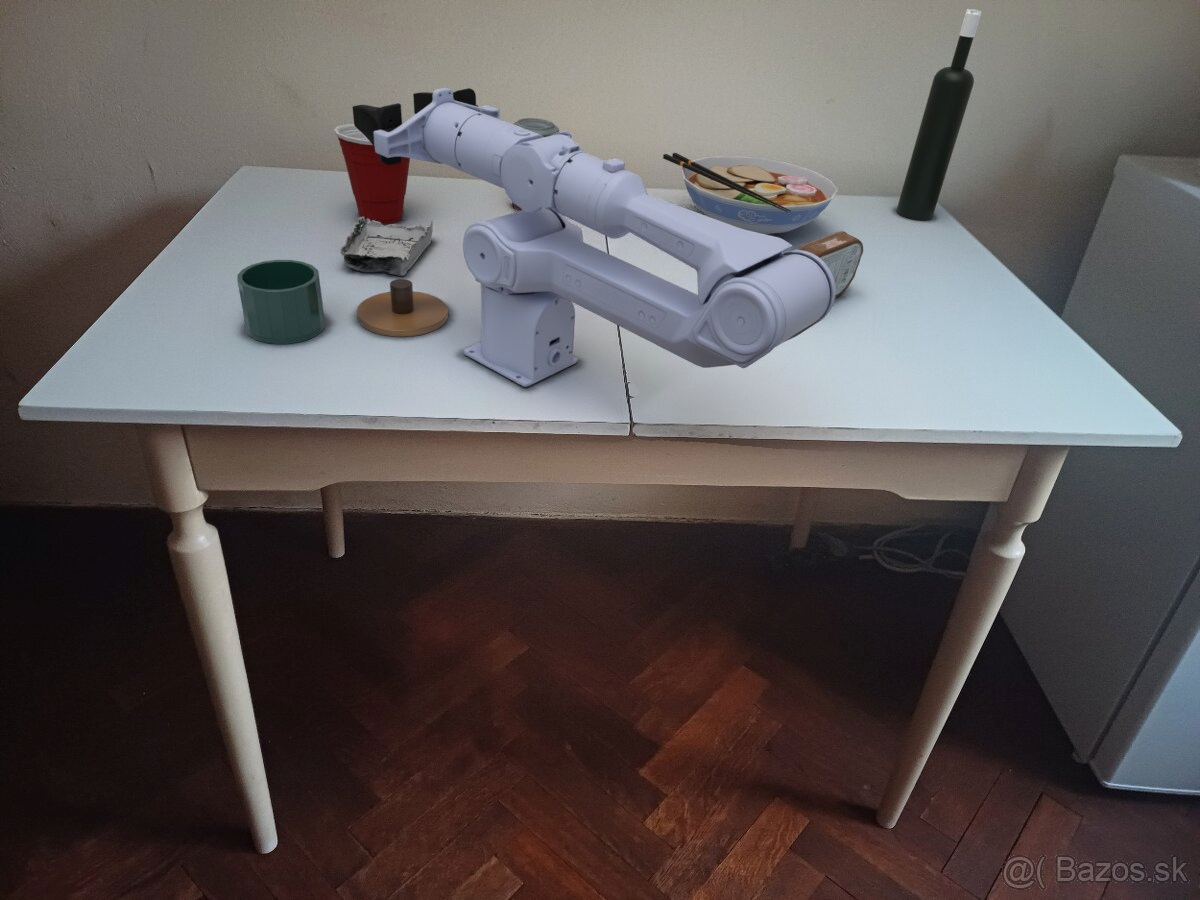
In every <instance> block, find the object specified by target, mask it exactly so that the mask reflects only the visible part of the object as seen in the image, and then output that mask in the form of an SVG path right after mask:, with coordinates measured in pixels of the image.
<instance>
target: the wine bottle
mask: <svg viewBox="0 0 1200 900" xmlns="http://www.w3.org/2000/svg"><path fill="white" fill-rule="evenodd" d="M982 12H983V11H982V10H978V9H975V8H974V9H973V8H971V9H970V8H966V11H965V14H964V17H963V21H962V23H961V26H960V27H961V28H960V31H959V33H958V36H959V37H958V40H957V44H956V47H955V50H954V53H953V56H952V57H953V58H952V61H951V64H950V66H946V67H945V66H944V67H943V68H941V69H939V70H938V71H937V72H936V73H935V75H934V76H933V79H932V83H931V87H930V89H929V94H928V97H927V100H926V104H925V107H924V111H923V115H922V118H921V121H920V125H919V129H918V133H917V135H916V139H915V143H914V146H913V150H912V154H911V156H910V161H909V164H908V167H907V172H906V174H905V179H904V182H903V185H902V190H901V193H900V196H899V200H898V204H897V207H896V210H895V211H896V213H897V215H900V217H904V218H905V219H906V218H907V219H910V220H915V221H929V220H931V219H932V218H933V217H934V214H935V210H936V207H937V204H938V201H939V197H940V195H941V191H942V188H943V185H944V182H945V178H946V175H947V171H948V168H949V166H950V162H951V159H952V156H953V153H954V149H955V146H956V144H957V143H956V142H957V139H958V136H959V132H960V130H961V126H962V123H963V120H964V116H965V113H966V110H967V107H968V104H969V101H970V97H971V94H972V90H973V88H974V84H975V77H974V75H973V73H972V72H971V71H970V70H968V69H966V65H967V64H966V63H967V62H968V59H969V55H970V51H971V48H972V44H973V41H974V38H975V37H976V35H977V31H978V26H979V23H980V20H981V16H982Z"/></svg>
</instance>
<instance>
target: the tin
mask: <svg viewBox="0 0 1200 900" xmlns="http://www.w3.org/2000/svg"><path fill="white" fill-rule="evenodd" d="M797 250H803V251H807V252H810V253H813V254H814V255H816V256H818V257H819V258H820V259H821V260H823V262H824V263H825V264H826V265H827V266H828V268H829V269H830V271H831V273H832V275H833V278H834V281H835V287H836V295H835V299H836V298H838V297H840V296H841V295H842V294H844V292H845V291H846V290H847V289H848V288H849V286H850V285H851V283H852V282H853V280H854V278H855V276H856V273H857V271H858V267H859V265H860V262H861V260H862V256H863V254H864V245H863V242H862V241H861V240H860V239H859V238H857V237H854V236H853V235H851V234H850V233H849V234H848V233H847V232H846V231H844V230H840V231H836V232H834V233H831V234H829V235H826V236H824V237H820V238H817V239H814V240H812V241H809V242H806V243H804V244H802V245H801V246H800V247H799V248H797Z"/></svg>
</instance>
